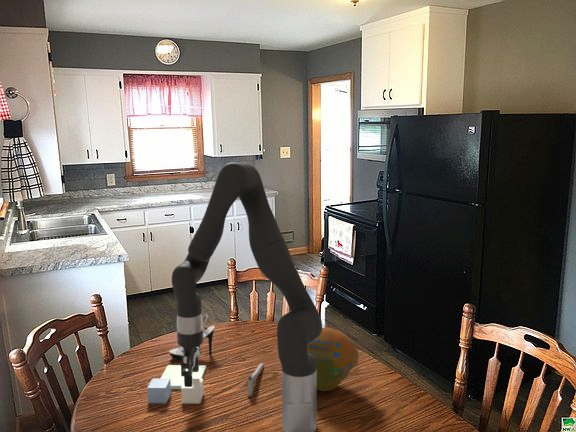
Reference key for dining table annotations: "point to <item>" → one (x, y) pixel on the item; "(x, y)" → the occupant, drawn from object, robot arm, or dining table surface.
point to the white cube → (193, 392)
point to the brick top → (159, 390)
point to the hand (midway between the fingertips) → (191, 378)
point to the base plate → (175, 375)
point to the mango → (332, 357)
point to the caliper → (253, 378)
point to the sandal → (208, 334)
